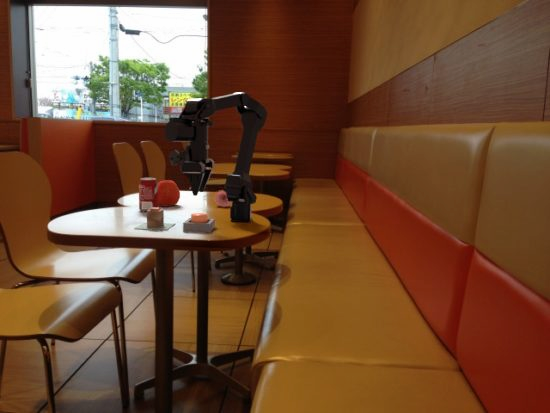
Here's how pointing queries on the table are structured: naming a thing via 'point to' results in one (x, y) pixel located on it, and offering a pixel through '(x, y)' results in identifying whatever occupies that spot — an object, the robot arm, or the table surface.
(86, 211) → the table surface
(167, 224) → the board
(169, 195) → the apple
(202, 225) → the button box
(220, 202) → the flower
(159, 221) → the block
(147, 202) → the soda can
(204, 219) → the button
